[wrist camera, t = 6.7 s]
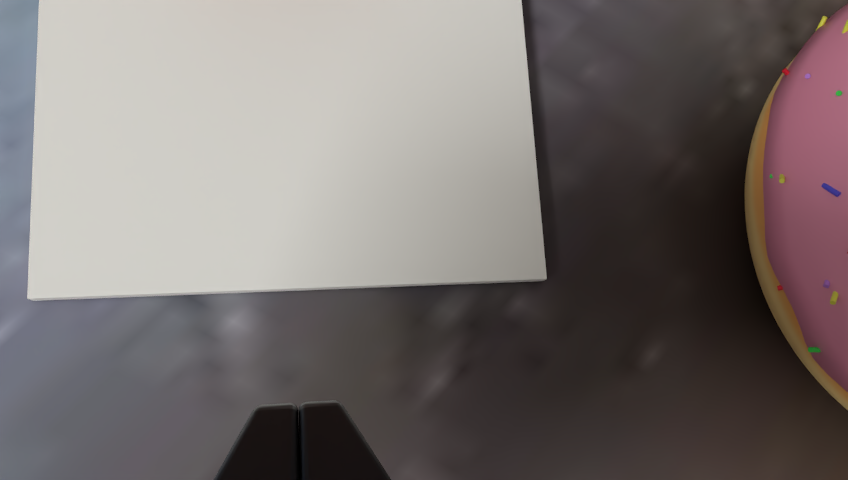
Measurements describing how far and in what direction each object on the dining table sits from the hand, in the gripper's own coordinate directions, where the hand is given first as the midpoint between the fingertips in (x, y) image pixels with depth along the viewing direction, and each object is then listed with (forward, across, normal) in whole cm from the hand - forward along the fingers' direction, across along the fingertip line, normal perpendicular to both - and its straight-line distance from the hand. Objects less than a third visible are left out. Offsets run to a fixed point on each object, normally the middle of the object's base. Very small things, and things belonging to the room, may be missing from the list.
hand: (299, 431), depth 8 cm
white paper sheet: (+12, 0, -2) cm, 12 cm away
